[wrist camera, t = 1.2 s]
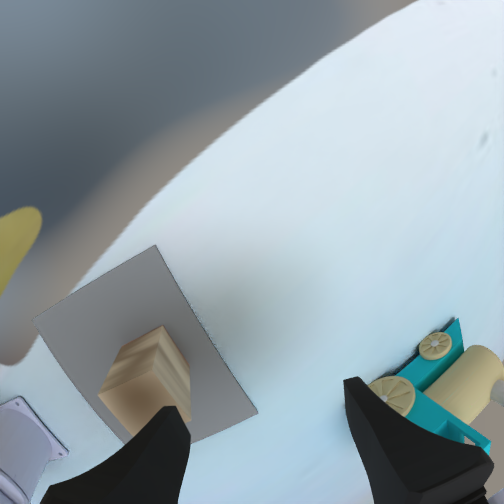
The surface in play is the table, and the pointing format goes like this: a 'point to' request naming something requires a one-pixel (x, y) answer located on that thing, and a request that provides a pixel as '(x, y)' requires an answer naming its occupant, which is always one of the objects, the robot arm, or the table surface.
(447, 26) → the table surface
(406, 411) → the toy train
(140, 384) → the maple block
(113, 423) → the slate mat
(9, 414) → the robot arm
